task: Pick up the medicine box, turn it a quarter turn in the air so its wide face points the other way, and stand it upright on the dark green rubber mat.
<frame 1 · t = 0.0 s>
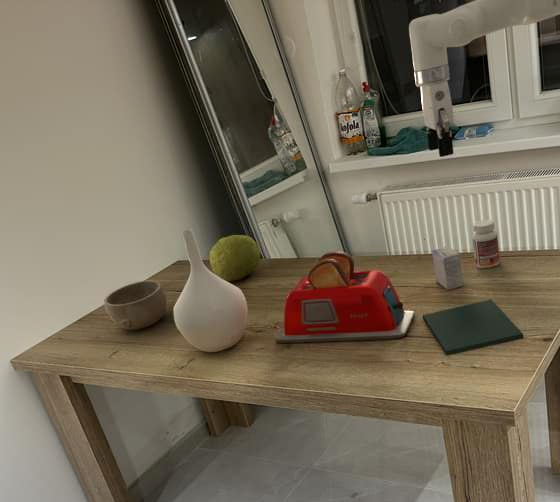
hand: (441, 152, 162), 32 cm above the table, tool pointing down, fingers open, 9 cm apart
mat: (470, 327, 149), on the table
fruit: (240, 277, 215), on the table
medicine box: (449, 284, 173), on the table
toaster: (345, 330, 163), on the table
pill bottle: (487, 265, 178), on the table
vase: (220, 344, 172), on the table
bowl: (143, 323, 199), on the table
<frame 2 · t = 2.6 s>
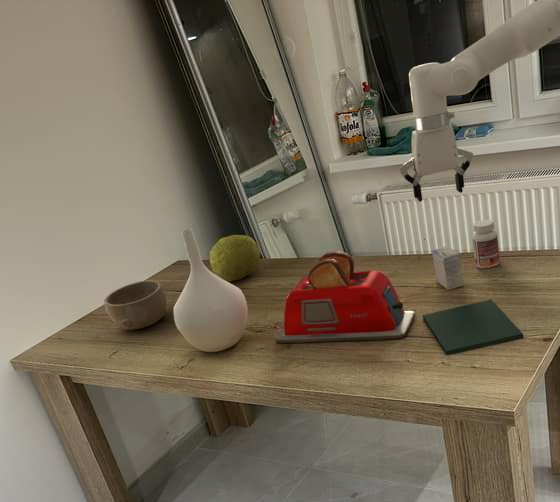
hand: (439, 195, 163), 22 cm above the table, tool pointing down, fingers open, 9 cm apart
nothing on the table moved.
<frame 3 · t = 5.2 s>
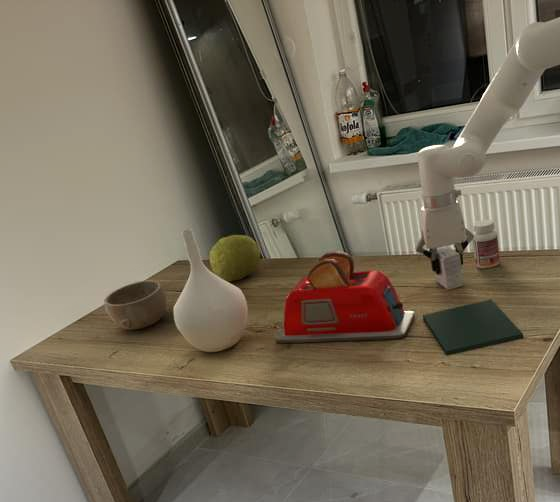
hand: (447, 269, 171), 4 cm above the table, tool pointing down, fingers closed on medicine box, 4 cm apart
medicine box: (449, 284, 173), on the table, touching gripper
everything else where it was.
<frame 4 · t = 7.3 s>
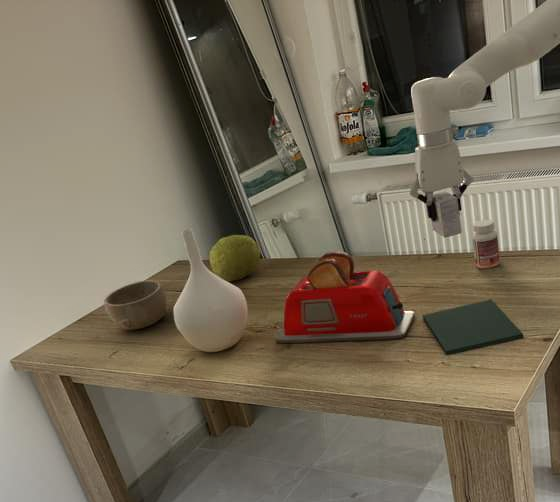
hand: (445, 216, 159), 19 cm above the table, tool pointing down, fingers closed on medicine box, 4 cm apart
medicine box: (447, 232, 161), point 15 cm above the table, touching gripper
everything else where it was.
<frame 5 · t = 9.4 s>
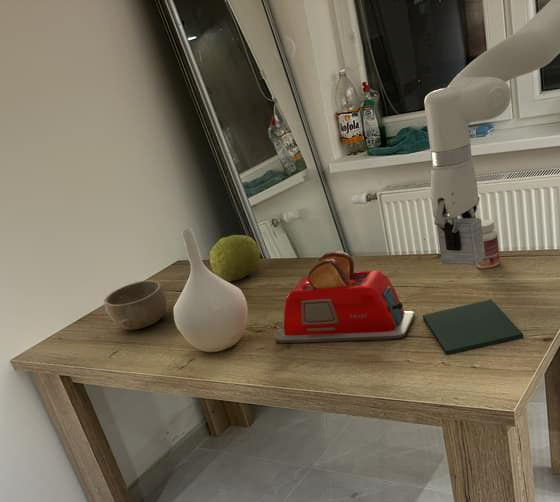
hand: (461, 244, 140), 19 cm above the table, tool pointing down, fingers closed on medicine box, 4 cm apart
medicine box: (463, 262, 142), point 15 cm above the table, touching gripper
everything else where it was.
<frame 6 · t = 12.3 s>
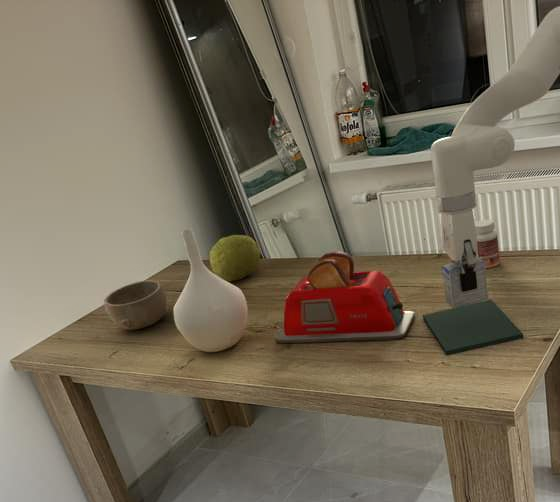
hand: (465, 284, 144), 10 cm above the table, tool pointing down, fingers closed on medicine box, 4 cm apart
medicine box: (467, 301, 146), point 6 cm above the table, touching gripper
everything else where it was.
when the fingers open (5 cm above the table, at t = 14.0 s): medicine box stays where it is, resting on mat.
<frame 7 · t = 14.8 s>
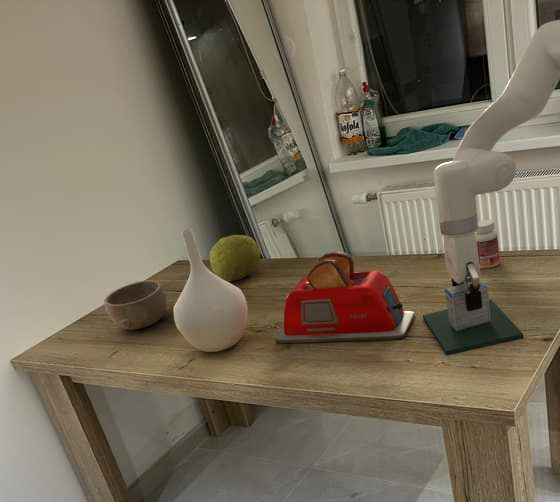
hand: (467, 301, 146), 6 cm above the table, tool pointing down, fingers open, 9 cm apart
medicine box: (469, 324, 148), point 1 cm above the table, touching mat
everything else where it was.
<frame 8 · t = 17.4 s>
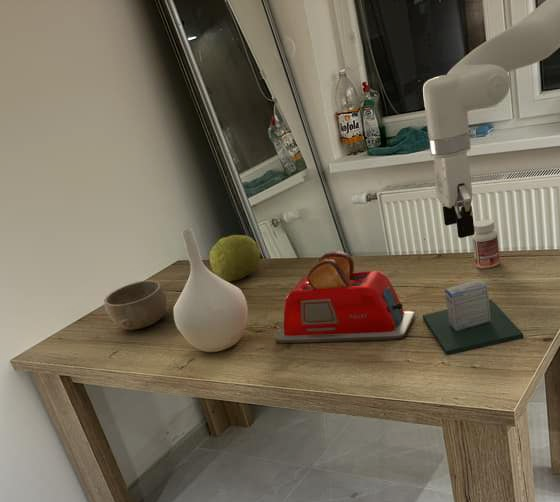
hand: (459, 229, 139), 22 cm above the table, tool pointing down, fingers open, 9 cm apart
nothing on the table moved.
at the end: medicine box inside the target area on the mat (0.0 cm from its centre), point 0.8 cm above the mat's base; medicine box tilted 0°; the gripper is holding nothing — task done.
